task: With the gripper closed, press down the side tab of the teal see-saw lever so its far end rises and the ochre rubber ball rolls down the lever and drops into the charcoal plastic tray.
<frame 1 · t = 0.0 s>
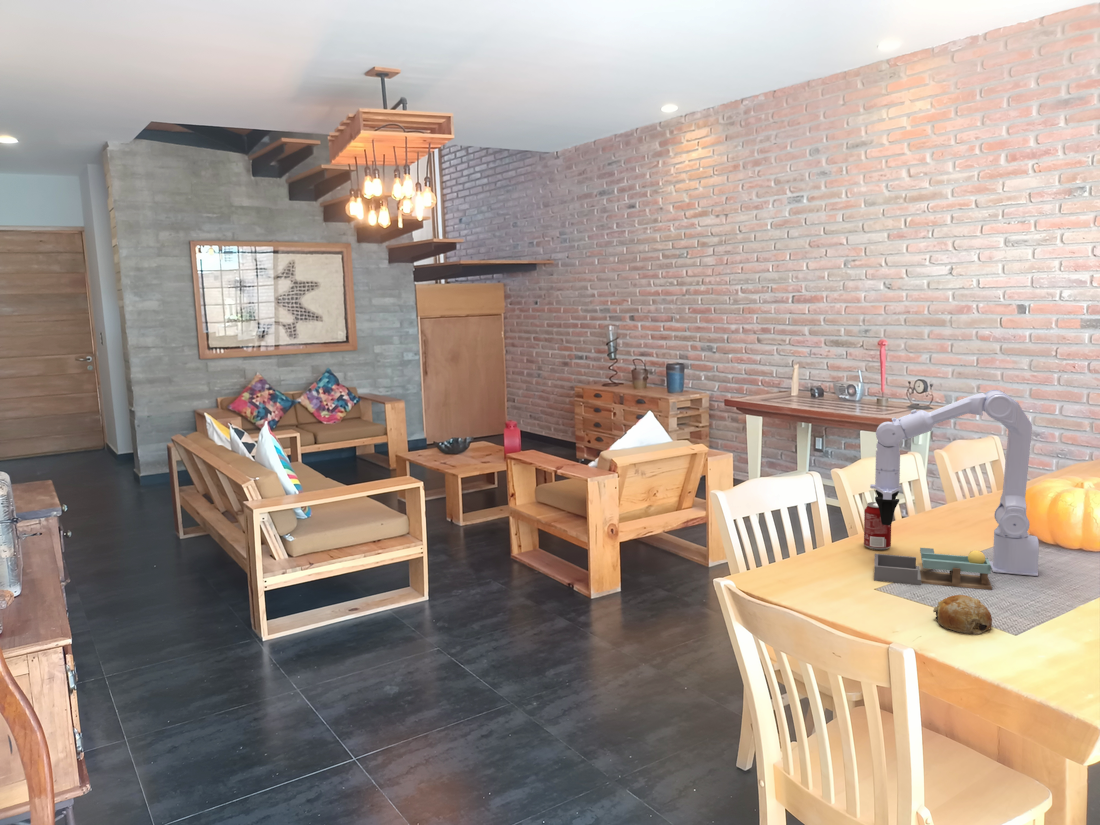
hand: (886, 521, 202), 10 cm above the table, fingers open, 7 cm apart
ball: (976, 558, 183), point 6 cm above the table, touching lever
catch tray: (896, 575, 190), on the table
bread roll: (960, 626, 160), on the table
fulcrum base: (954, 581, 186), on the table
soda can: (877, 548, 213), on the table
lever: (953, 557, 189), point 4 cm above the table, hinge at 0.0°, touching ball
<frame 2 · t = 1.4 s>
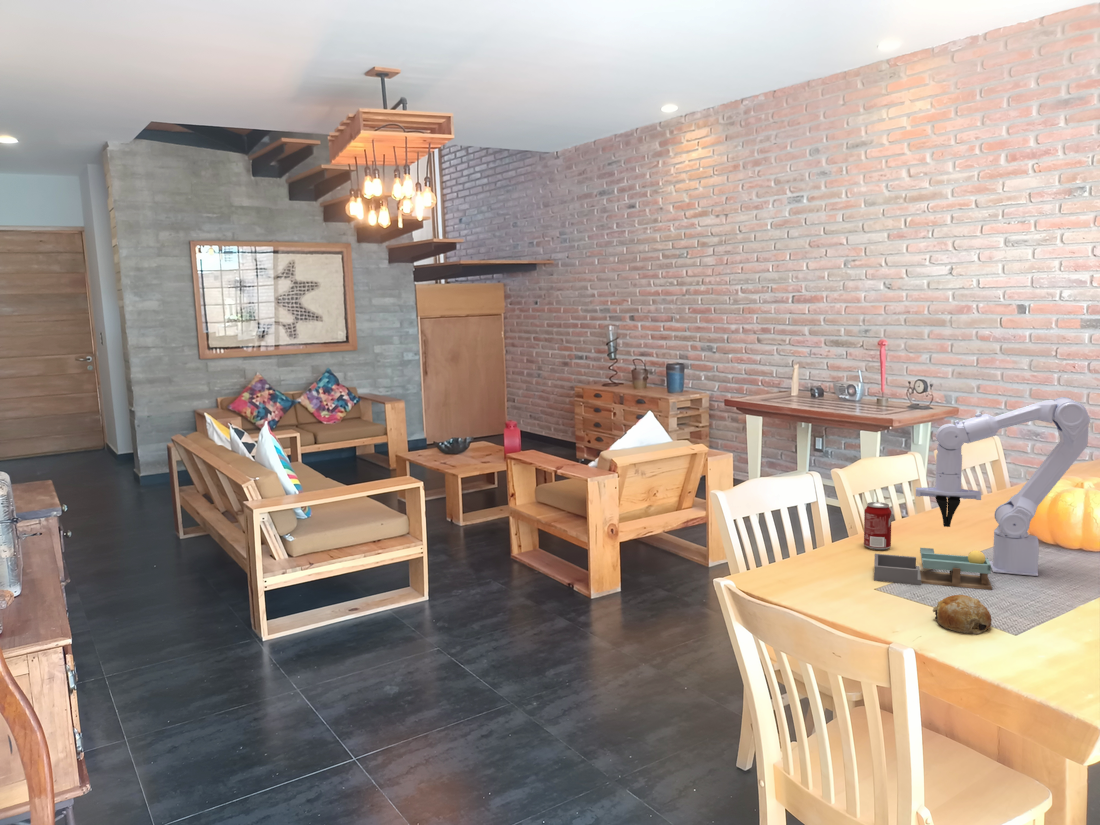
hand: (946, 525, 197), 10 cm above the table, fingers closed
nothing on the table moved.
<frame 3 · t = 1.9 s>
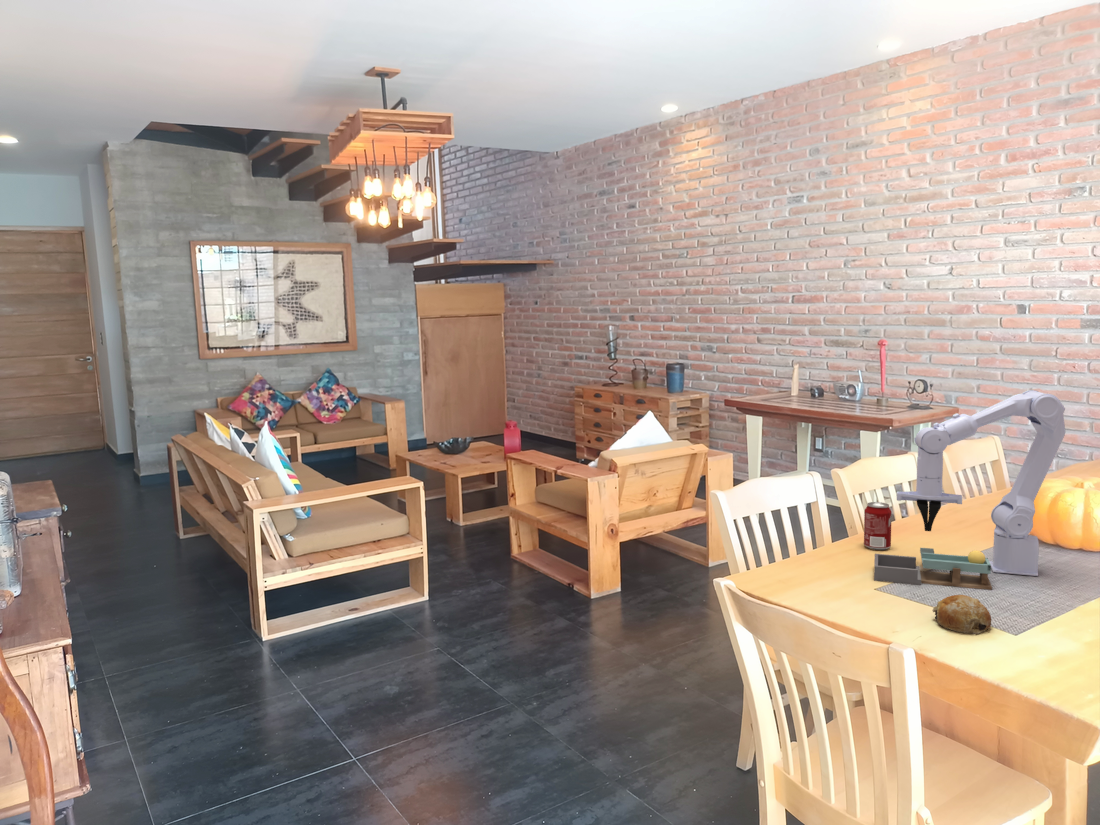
hand: (927, 530, 195), 9 cm above the table, fingers closed
nothing on the table moved.
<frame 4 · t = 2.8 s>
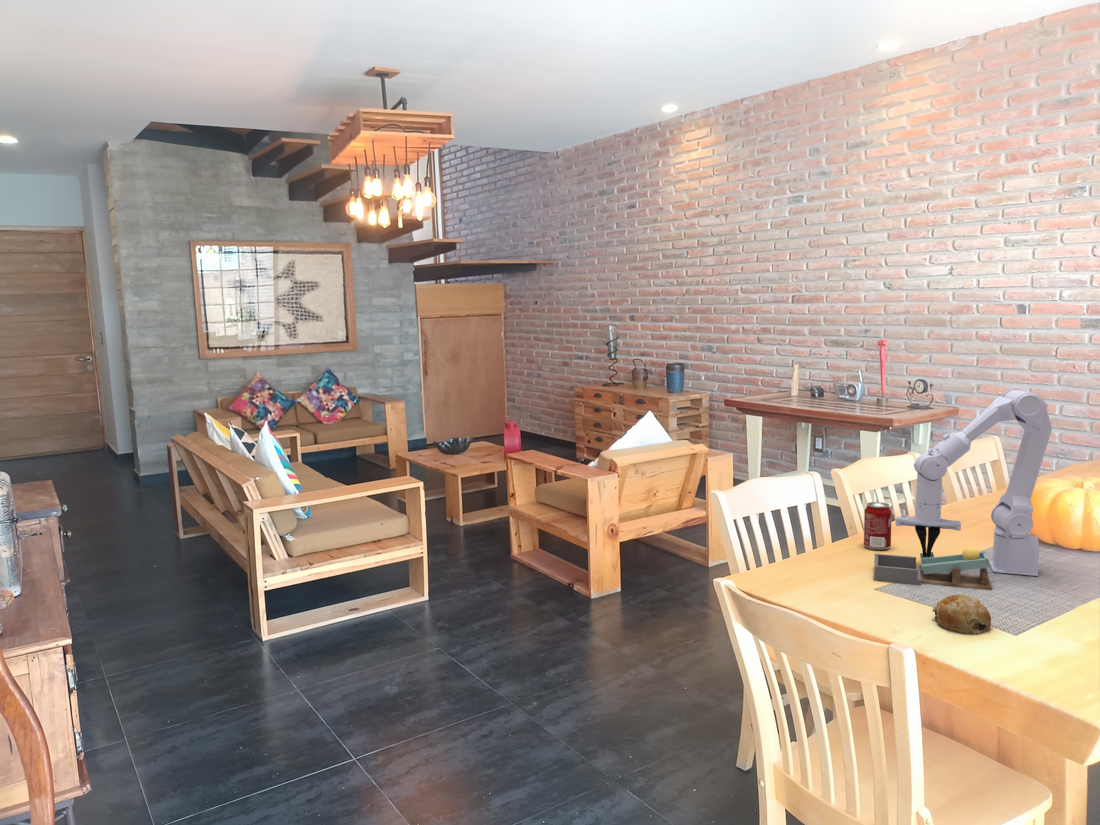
hand: (926, 555, 196), 3 cm above the table, fingers closed, pressing on lever
ball: (970, 554, 184), point 7 cm above the table, tilted 30°, touching lever
lever: (952, 557, 189), point 4 cm above the table, hinge at 12.5°, touching ball, gripper
everything else where it was.
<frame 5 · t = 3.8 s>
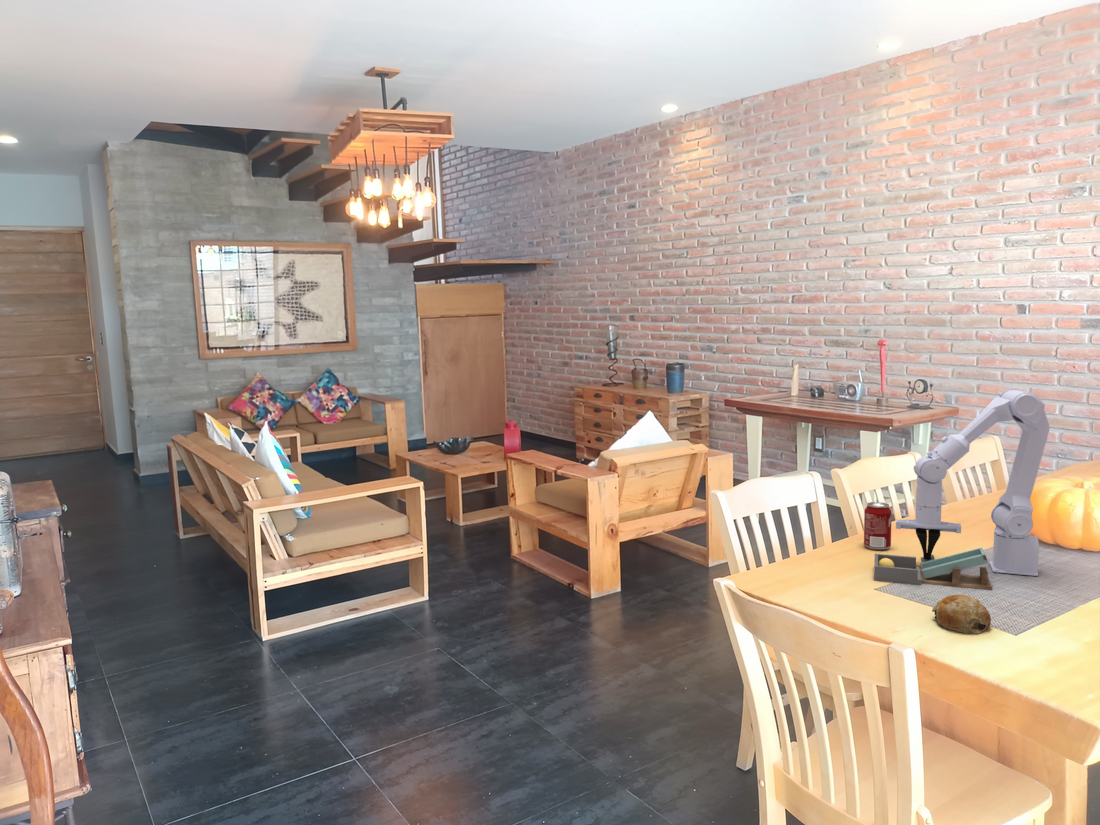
hand: (926, 558, 196), 2 cm above the table, fingers closed
ball: (886, 565, 191), point 2 cm above the table, tilted 54°, touching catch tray
lever: (952, 557, 189), point 4 cm above the table, hinge at 21.5°, touching gripper
everything else where it was.
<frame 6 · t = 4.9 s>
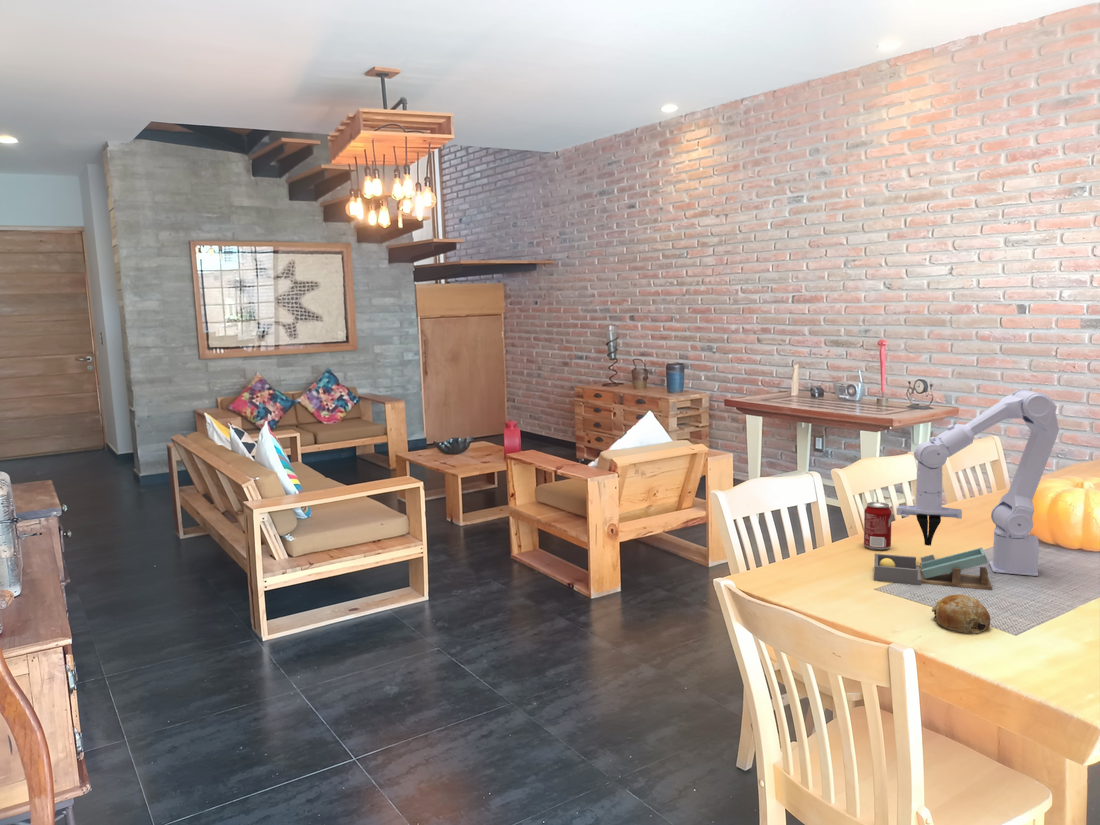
hand: (927, 544, 195), 6 cm above the table, fingers closed
ball: (887, 565, 191), point 2 cm above the table, tilted 61°, touching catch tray
lever: (952, 557, 189), point 4 cm above the table, hinge at 21.5°
everything else where it was.
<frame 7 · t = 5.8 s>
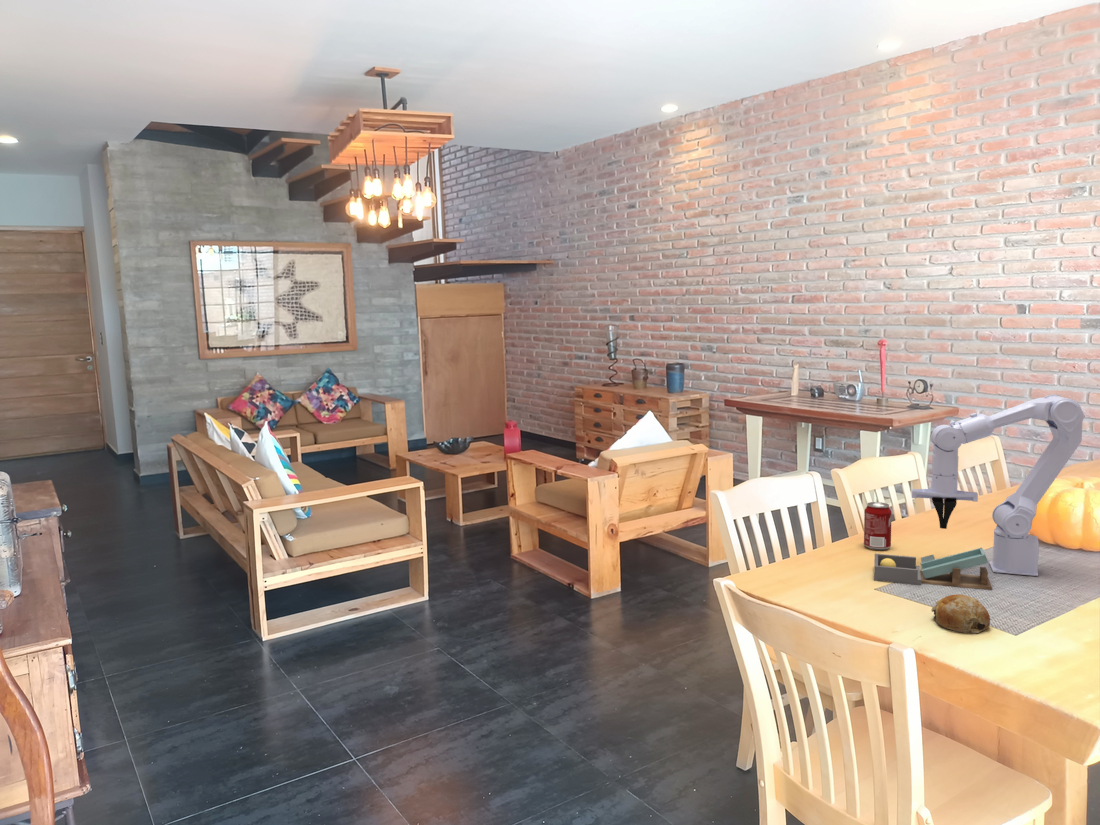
hand: (943, 527, 195), 10 cm above the table, fingers closed
ball: (887, 565, 191), point 2 cm above the table, tilted 66°, touching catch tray
everything else where it was.
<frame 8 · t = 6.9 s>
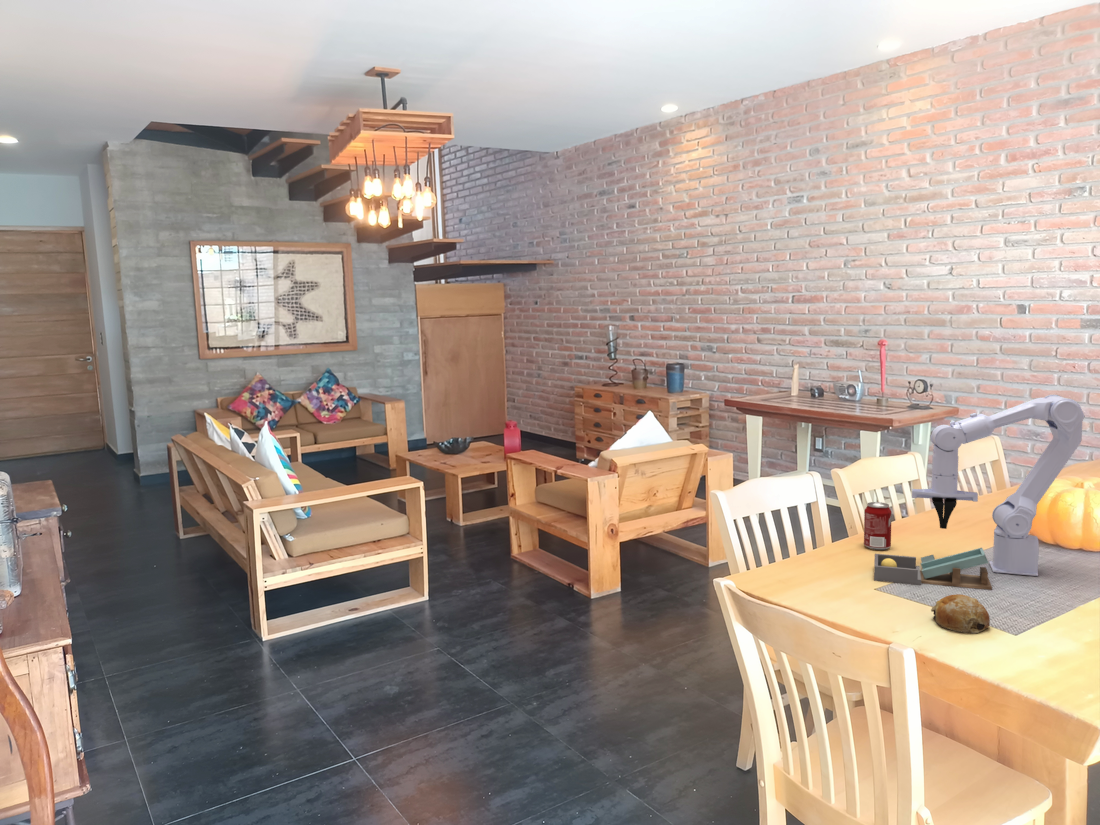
hand: (943, 527, 195), 10 cm above the table, fingers closed
ball: (888, 565, 191), point 2 cm above the table, tilted 73°, touching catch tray
everything else where it was.
at the end: ball inside the target area on the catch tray (1.6 cm from its centre), point 2.3 cm above the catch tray's base; lever at +22° (first picture: +0°) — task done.
